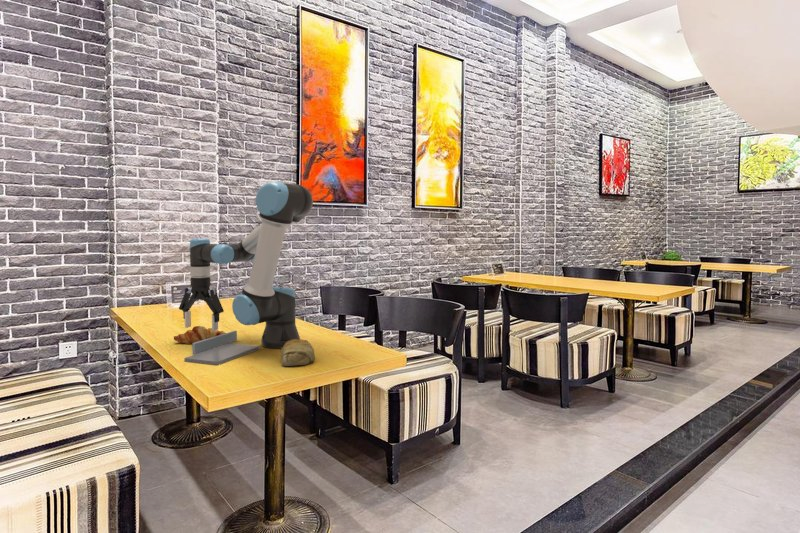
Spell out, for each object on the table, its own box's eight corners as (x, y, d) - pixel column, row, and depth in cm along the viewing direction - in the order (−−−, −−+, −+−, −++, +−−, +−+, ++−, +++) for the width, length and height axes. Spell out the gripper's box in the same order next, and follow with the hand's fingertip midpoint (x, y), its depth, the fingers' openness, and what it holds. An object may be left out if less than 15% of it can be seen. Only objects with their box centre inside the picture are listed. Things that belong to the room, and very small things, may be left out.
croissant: (228, 346, 209) (228, 328, 212) (230, 339, 200) (230, 320, 203) (173, 350, 200) (173, 331, 203) (173, 343, 192) (173, 323, 195)
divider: (236, 340, 204) (236, 330, 204) (195, 354, 181) (194, 343, 181) (234, 340, 204) (234, 330, 204) (192, 354, 182) (192, 343, 182)
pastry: (300, 355, 182) (300, 334, 181) (324, 361, 174) (324, 338, 173) (269, 363, 171) (268, 340, 170) (292, 370, 163) (292, 346, 162)
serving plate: (259, 349, 190) (259, 345, 190) (217, 365, 167) (217, 361, 167) (229, 346, 194) (229, 343, 194) (184, 361, 172) (184, 358, 172)
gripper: (232, 277, 199) (232, 329, 200) (182, 274, 207) (183, 324, 209) (219, 279, 192) (220, 333, 193) (168, 276, 200) (170, 327, 201)
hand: (201, 328), depth 201 cm, fingers open, 13 cm apart
